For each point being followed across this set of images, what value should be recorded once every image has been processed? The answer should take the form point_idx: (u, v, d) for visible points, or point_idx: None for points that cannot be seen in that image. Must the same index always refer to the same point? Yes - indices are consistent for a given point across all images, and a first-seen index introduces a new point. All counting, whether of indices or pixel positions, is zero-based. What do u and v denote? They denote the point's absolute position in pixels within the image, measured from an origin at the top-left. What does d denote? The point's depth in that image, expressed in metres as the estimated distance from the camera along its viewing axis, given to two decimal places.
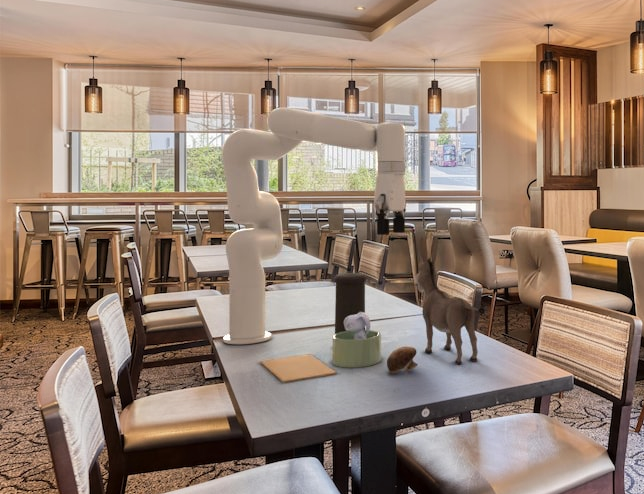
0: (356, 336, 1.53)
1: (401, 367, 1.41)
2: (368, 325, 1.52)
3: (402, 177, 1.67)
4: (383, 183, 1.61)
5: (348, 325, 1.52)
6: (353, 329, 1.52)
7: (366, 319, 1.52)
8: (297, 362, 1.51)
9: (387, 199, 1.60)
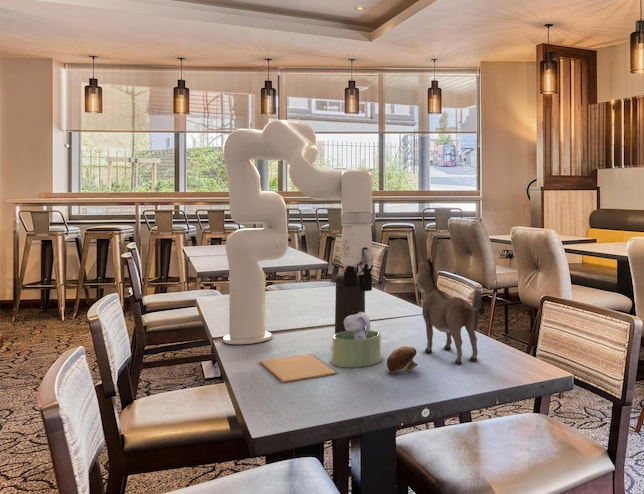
0: (356, 336, 1.53)
1: (401, 367, 1.41)
2: (368, 325, 1.52)
3: None
4: (365, 236, 1.50)
5: (348, 325, 1.52)
6: (353, 329, 1.52)
7: (366, 319, 1.52)
8: (297, 362, 1.51)
9: (370, 253, 1.51)
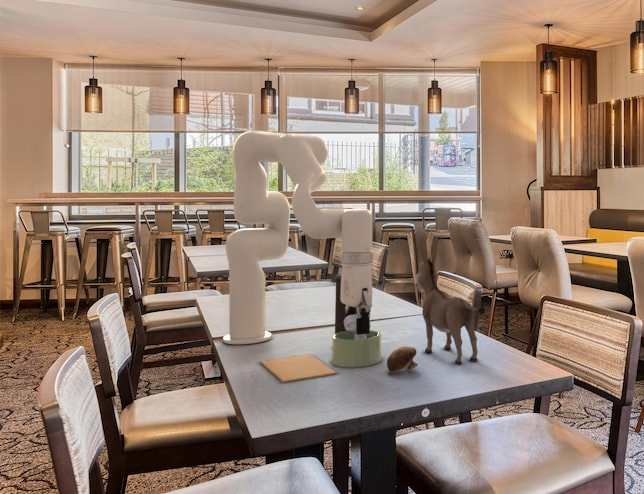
0: (356, 336, 1.53)
1: (401, 367, 1.41)
2: None
3: None
4: (365, 276, 1.50)
5: (348, 325, 1.53)
6: (354, 329, 1.52)
7: None
8: (297, 362, 1.51)
9: (370, 293, 1.51)
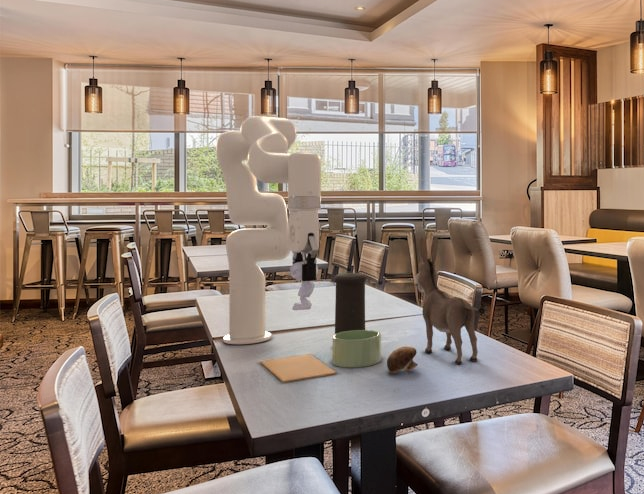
0: (303, 283, 1.48)
1: (401, 367, 1.41)
2: None
3: None
4: (311, 221, 1.45)
5: (294, 272, 1.47)
6: (300, 275, 1.47)
7: None
8: (297, 362, 1.51)
9: (316, 238, 1.45)
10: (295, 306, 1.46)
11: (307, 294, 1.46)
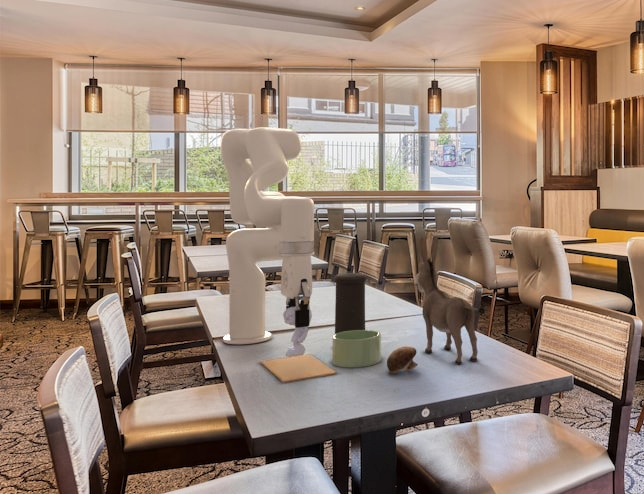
0: (296, 329, 1.47)
1: (401, 367, 1.41)
2: None
3: None
4: (304, 267, 1.44)
5: (287, 317, 1.46)
6: (293, 321, 1.46)
7: None
8: (297, 362, 1.51)
9: (309, 284, 1.45)
10: (288, 352, 1.45)
11: (300, 340, 1.45)
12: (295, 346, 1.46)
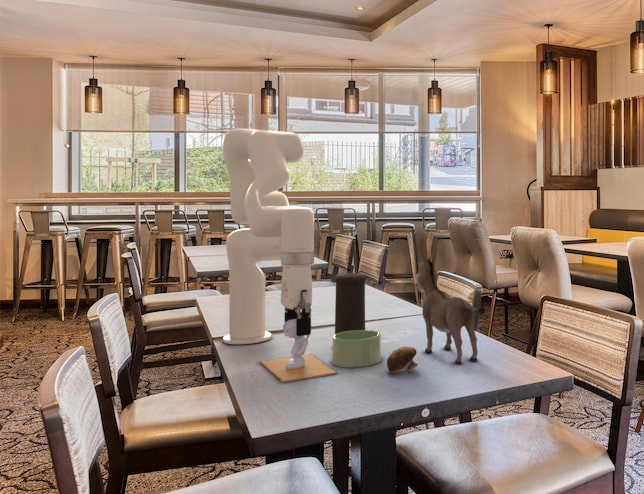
0: (296, 341, 1.47)
1: (401, 367, 1.41)
2: None
3: None
4: (304, 278, 1.44)
5: (287, 330, 1.46)
6: (292, 334, 1.46)
7: None
8: None
9: (309, 295, 1.45)
10: (288, 365, 1.45)
11: (300, 353, 1.45)
12: (295, 359, 1.46)
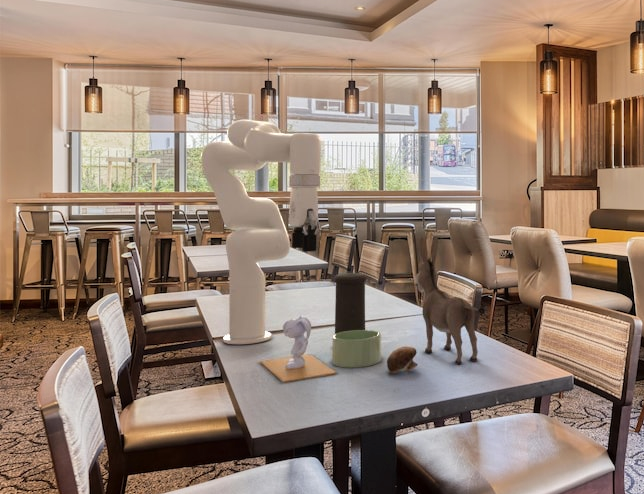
0: (296, 341, 1.47)
1: (401, 367, 1.41)
2: (308, 330, 1.46)
3: None
4: (310, 197, 1.54)
5: (287, 330, 1.46)
6: (292, 334, 1.46)
7: (306, 324, 1.46)
8: None
9: (315, 214, 1.54)
10: (288, 365, 1.45)
11: (300, 353, 1.45)
12: (295, 359, 1.46)
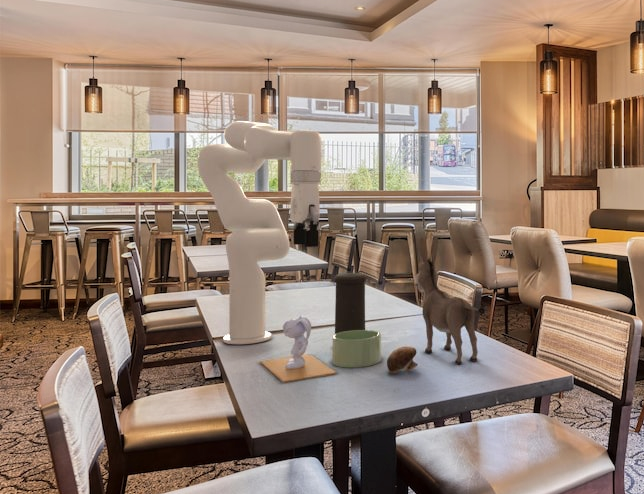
0: (296, 341, 1.47)
1: (401, 367, 1.41)
2: (308, 330, 1.46)
3: None
4: (312, 193, 1.55)
5: (287, 330, 1.46)
6: (292, 334, 1.46)
7: (306, 324, 1.46)
8: None
9: (317, 210, 1.56)
10: (288, 365, 1.45)
11: (300, 353, 1.45)
12: (295, 359, 1.46)
